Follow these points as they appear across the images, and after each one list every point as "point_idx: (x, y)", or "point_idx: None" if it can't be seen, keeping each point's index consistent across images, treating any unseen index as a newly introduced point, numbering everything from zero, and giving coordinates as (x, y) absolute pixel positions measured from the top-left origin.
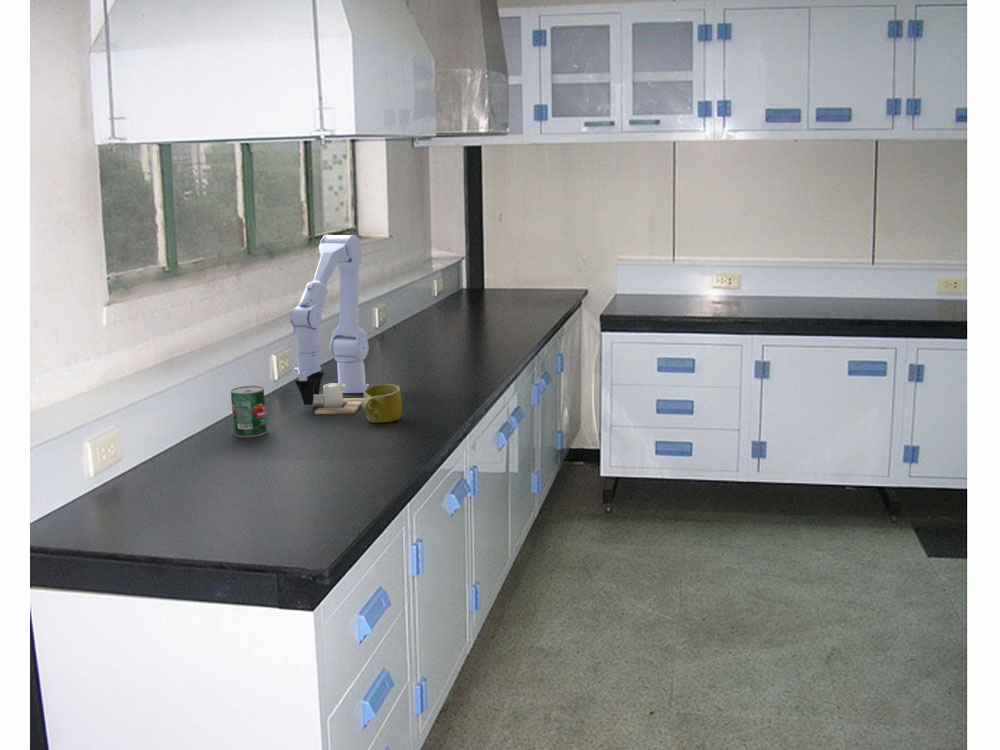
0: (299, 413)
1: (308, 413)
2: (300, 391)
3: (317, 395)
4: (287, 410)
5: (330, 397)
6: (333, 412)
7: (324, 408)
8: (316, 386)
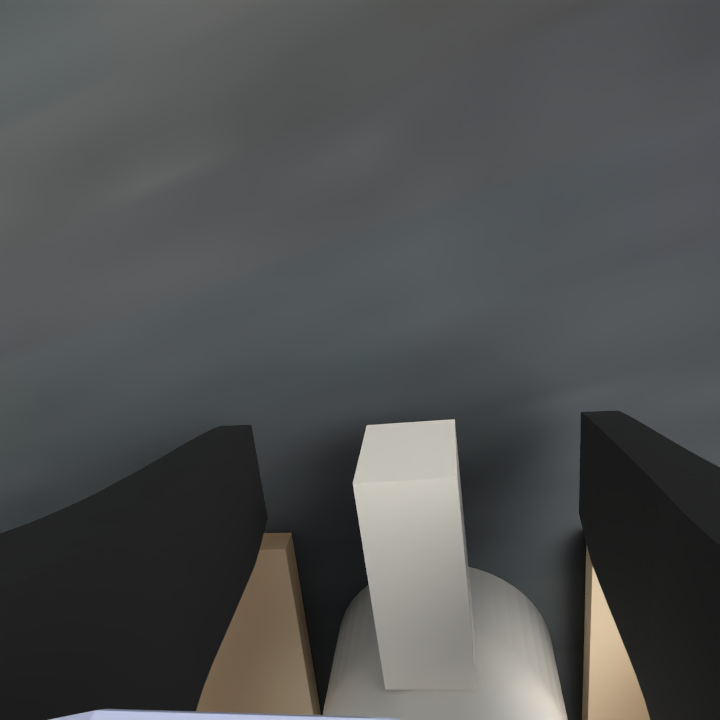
0: (124, 360)
1: (144, 461)
2: (51, 522)
3: (400, 617)
4: (246, 140)
5: None
6: None
7: (270, 615)
8: (647, 654)
